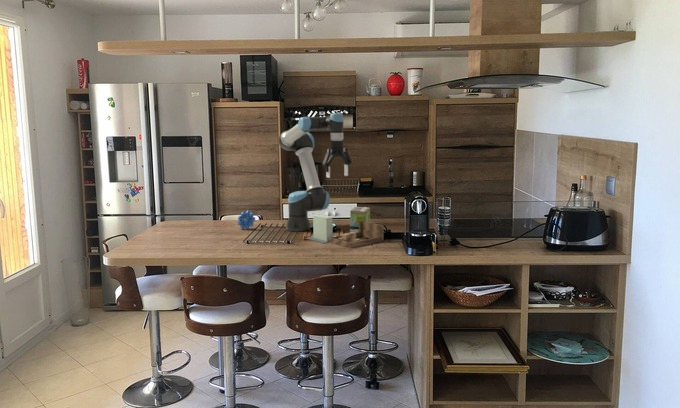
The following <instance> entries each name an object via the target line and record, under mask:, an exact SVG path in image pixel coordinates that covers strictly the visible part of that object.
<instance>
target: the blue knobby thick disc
mask: <svg viewBox="0 0 680 408" xmlns="http://www.w3.org/2000/svg"><path fill="white" fill-rule="evenodd" d="M254 215H255V214H254V212H251V211H250V210H249V209H248V210H246V211H242V212H241V213H240V215H238V216H237V219H238V220H237V225H238V226H240V229H245V230H248V229H250V227H253V226H254V222H255V221H256V217H254Z"/></svg>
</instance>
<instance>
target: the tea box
mask: <svg viewBox="0 0 680 408" xmlns="http://www.w3.org/2000/svg"><path fill="white" fill-rule="evenodd" d="M349 217H350V218H349V221H350V222H349V223H350V224H349V232H355V233H357V232H359V221H366V222H371V207H369V206H368V207H366V206H354V207H352V208H351V210H350V216H349Z"/></svg>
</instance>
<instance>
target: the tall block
mask: <svg viewBox="0 0 680 408" xmlns="http://www.w3.org/2000/svg"><path fill="white" fill-rule="evenodd" d="M312 224H313V230H312V231H313V232H312V233H313V237H314V238H317V239H321V240H324V241H329V238H332V237H334V236H333V235H334V234H333V230H334V229H333V225H334V224H333V217H331V216H327V215H323V214H316V215H315V214H313V215H312Z"/></svg>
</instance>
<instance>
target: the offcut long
mask: <svg viewBox="0 0 680 408" xmlns="http://www.w3.org/2000/svg"><path fill="white" fill-rule="evenodd" d="M338 240H341V241H345V242H349V243H352V242H357V241H361V238H358V237H356V238H354V239H350V240H342V238H341V237H340V238H338Z"/></svg>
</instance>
